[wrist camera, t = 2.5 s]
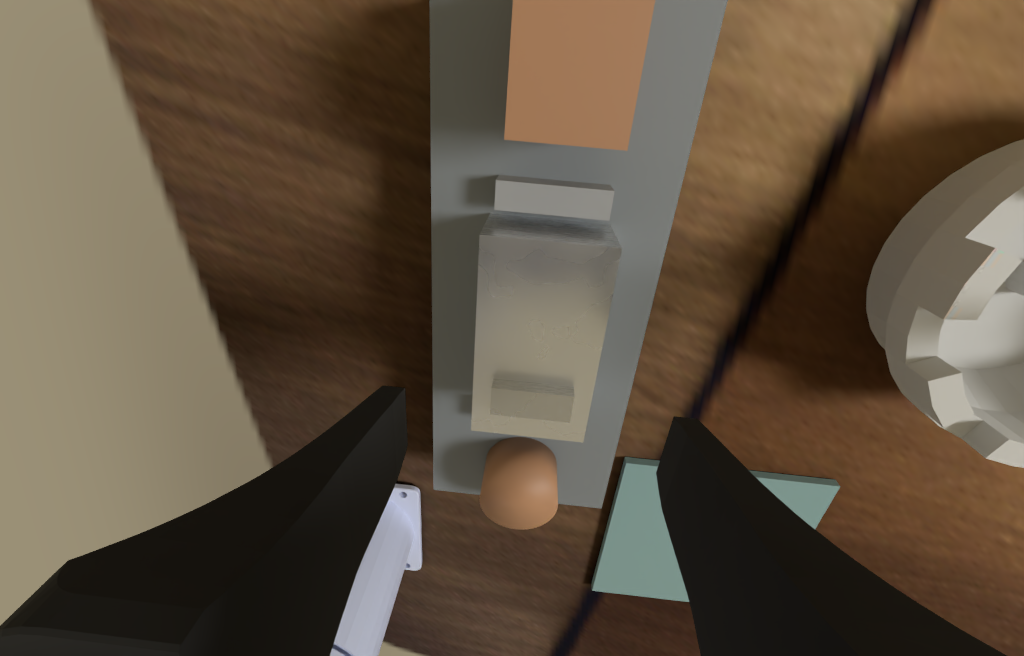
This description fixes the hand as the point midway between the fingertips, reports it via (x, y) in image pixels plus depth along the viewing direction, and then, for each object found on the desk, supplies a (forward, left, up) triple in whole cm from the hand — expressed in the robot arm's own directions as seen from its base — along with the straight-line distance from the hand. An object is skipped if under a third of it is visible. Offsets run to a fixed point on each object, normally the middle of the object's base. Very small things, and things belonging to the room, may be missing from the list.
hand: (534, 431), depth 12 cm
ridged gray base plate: (0, 0, -10) cm, 10 cm away
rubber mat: (+12, -16, -10) cm, 22 cm away
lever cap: (0, 0, -7) cm, 7 cm away
